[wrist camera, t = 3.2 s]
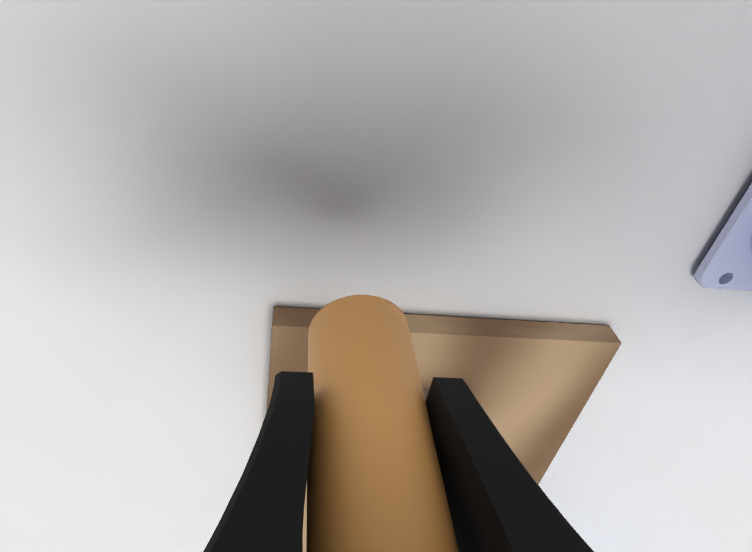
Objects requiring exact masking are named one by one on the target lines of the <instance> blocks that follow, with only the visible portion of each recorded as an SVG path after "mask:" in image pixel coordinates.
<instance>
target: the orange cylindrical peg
mask: <svg viewBox="0 0 752 552" xmlns="http://www.w3.org/2000/svg"><path fill="white" fill-rule="evenodd" d="M308 372H313V379H314V400H315V407H314V417H313V426H312V436H311V446H310V456H309V465H308V475H307V538H306V552H459V550H458V546H457V541H456V537H455V532H454V528H453V523H452V519H451V514H450V510H449V505H448V501H447V496H446V492H445V487H444V483H443V478H442V474H441V469H440V465H439V460H438V456H437V451H436V447H435V443H434V438H433V434H432V429H431V425H430V420H429V416H428V411H427V407H426V402H425V398H424V393H423V389H422V384H421V380H420V375H419V371H418V366H417V362H416V357H415V353H414V348H413V344H412V340H411V335H410V331H409V326H408V322H407V319H406V317H405V315H404V313H403V312H402V311H401V310H400V309H399V308H398V307H397V306H396V305H394V304H393V303H392V302H390V301H388V300H386V299H383V298H380V297H376V296H371V295H353V296H347V297H343V298H340V299H338V300H335V301H333V302H331V303H329V304H327V305H326V306H325V307H323V308H322V309H321V310H320V311H319V312H318V313H317V314H316V315H315V317H314V318H313V320H312V321H311V324H310V326H309V331H308Z"/></svg>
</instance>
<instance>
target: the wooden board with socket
mask: <svg viewBox="0 0 752 552" xmlns="http://www.w3.org/2000/svg"><path fill="white" fill-rule="evenodd" d="M320 310H321V309H309V308H291V307H274V310H273V322H272V337H271V353H270V370H269V386H268V402H267V410H268V407H269V403H270V400H271V396H272V391H273V387H274V380H275V375H276V374H278V373H279V372H281V371H290V372H308V331H309V326H310V324H311V321H312V320H313V318H314V317H315V315H316V314H317V313H318V312H319V311H320ZM404 315H405V317H406V319H407V322H408V326H409V331H410V335H411V340H412V344H413V348H414V353H415V357H416V362H417V366H418V371H419V375H420V380H421V384H422V389H423V393H424V398H425V401H426V398H427V395H428V392H429V389H430V386H431V383H432V380H433V377H443V378H462V379H463V380H464V381H465V382H466V384H467V385H468V387H469V388H470V390H471V391H472V393H473V394H474V396H475V397H476V399H477V400H478V402H479V403H480V405H481V406H482V408H483V409H484V411H485V412H486V414H487V415H488V417H489V418H490V419H491V421H492V422H493V424H494V425H495V427H496V428H497V430H498V431H499V432H500V434H501V435H502V437H503V438H504V440H505V441H506V442H507V444H508V445H509V447H510V448H511V449H512V451H513V452H514V454H515V455H516V456H517V458H518V459H519V460H520V462H521V463H522V464H523V466H524V467H525V468H526V470H527V471H528V472H529V474H530V475H531V476H532V478H533V479H534V480H535V482H536V483H537V484H539V482H540V481H541V479H542V477H543V475H544V474H545V472H546V470H547V469H548V467H549V465H550V464H551V462H552V460H553V458H554V457H555V455H556V453H557V452H558V450H559V448H560V447H561V445H562V443H563V441H564V440H565V438H566V436H567V435H568V433H569V431H570V430H571V428H572V426H573V424H574V423H575V421H576V419H577V418H578V416H579V414H580V413H581V411H582V409H583V408H584V406H585V404H586V402H587V401H588V399H589V397H590V396H591V394H592V392H593V391H594V389H595V387H596V385H597V384H598V382H599V380H600V379H601V377H602V375H603V374H604V372H605V370H606V368H607V367H608V365H609V363H610V362H611V360H612V358H613V357H614V355H615V353H616V351H617V350H618V348H619V346H620V345H621V342H620V340H619V339H618V337H617V336H616V335H615V333H614V332H613V330H612V329H611V327H610V326H609V325H592V324H574V323H556V322H539V321H521V320H503V319H486V318H468V317H450V316H433V315H415V314H404ZM306 538H307V485H306V494H305V504H304V519H303V552H306Z"/></svg>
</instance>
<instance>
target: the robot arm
mask: <svg viewBox="0 0 752 552" xmlns="http://www.w3.org/2000/svg"><path fill="white" fill-rule="evenodd" d="M694 277H695V280H696V281H697V282H698V283H699V284H700V285H701V286H702V287H705V288H716V289H730V290H743V291H752V183H751V185H750V186H749V188H748V190H747V191H746V193H745V194H744V196H743V198H742V199H741V201H740V202H739V204H738V205H737V207H736V209H735V210H734V212H733V213H732V215H731V217H730V218H729V220H728V221H727V223H726V224H725V226H724V228H723V229H722V231H721V232H720V234H719V236H718V237H717V239H716V240H715V242H714V243H713V245H712V247H711V248H710V250H709V251H708V253H707V254H706V256H705V258H704V259H703V261H702V262H701V264H700V266H699V267H698V269H697V270H696V273H695V275H694ZM425 402H426V407H427V411H428V416H429V420H430V425H431V429H432V434H433V438H434V443H435V447H436V451H437V456H438V460H439V465H440V469H441V474H442V478H443V483H444V487H445V492H446V496H447V501H448V505H449V510H450V514H451V519H452V523H453V528H454V532H455V537H456V541H457V546H458V550H459V552H594V551H593V550H592V549H591V548H590V547H589V546H588V545H587V544H586V542H585V541H584V540H583V539H582V538H581V537H580V536H579V534H578V533H577V532H576V531H575V530H574V529H573V527H572V526H571V525H570V524H569V523H568V522H567V520H566V519H565V518H564V517H563V515H562V514H561V513H560V512H559V511H558V509H557V508H556V507H555V506H554V504H553V503H552V502H551V501H550V500H549V498H548V497H547V496H546V495H545V493H544V492H543V491H542V489H541V488H540V487H539V486H538V484H537V483H536V482H535V480H534V479H533V478H532V476H531V475H530V474H529V472H528V471H527V470H526V468H525V467H524V466H523V464H522V463H521V462H520V460H519V459H518V458H517V456H516V455H515V454H514V452H513V451H512V449H511V448H510V447H509V445H508V444H507V442H506V441H505V440H504V438H503V437H502V435H501V434H500V432H499V431H498V430H497V428H496V427H495V425H494V424H493V422H492V421H491V419H490V418H489V417H488V415H487V414H486V412H485V411H484V409H483V408H482V406H481V405H480V403H479V402H478V400H477V399H476V397H475V396H474V394H473V393H472V391H471V390H470V388H469V387H468V385H467V384H466V382H465V381H464V380H463V379H462V378H443V377H433V380H432V383H431V386H430V389H429V392H428V395H427V398H426V401H425ZM314 407H315V400H314V379H313V372H290V371H281V372H279V373H278V374H276V375H275V380H274V387H273V391H272V396H271V400H270V403H269V407H268V410H267V413H266V416H265V419H264V422H263V425H262V427H261V430H260V433H259V436H258V438H257V441H256V443H255V445H254V448H253V450H252V453H251V455H250V458H249V460H248V463H247V465H246V467H245V470H244V472H243V474H242V476H241V479H240V481H239V483H238V485H237V487H236V489H235V491H234V493H233V495H232V497H231V499H230V501H229V503H228V505H227V507H226V510H225V512H224V514H223V516H222V518H221V520H220V522H219V524H218V526H217V527H216V529H215V531H214V533H213V535H212V537H211V539H210V541H209V543H208V544H207V546H206V548H205V550H204V552H303V519H304V504H305V494H306V485H307V475H308V465H309V456H310V446H311V436H312V426H313V417H314Z"/></svg>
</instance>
